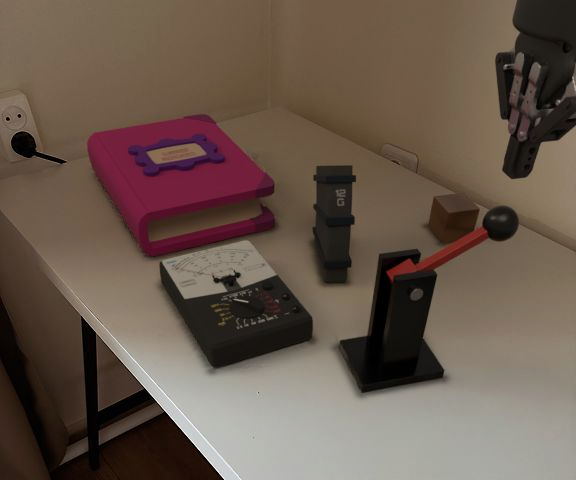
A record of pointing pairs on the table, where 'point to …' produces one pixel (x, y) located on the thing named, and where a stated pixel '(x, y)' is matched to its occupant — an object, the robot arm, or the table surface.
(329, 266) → the magazine
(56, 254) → the table surface
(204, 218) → the book
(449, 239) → the block
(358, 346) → the bracket
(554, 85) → the robot arm
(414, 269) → the lever
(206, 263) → the multimeter
